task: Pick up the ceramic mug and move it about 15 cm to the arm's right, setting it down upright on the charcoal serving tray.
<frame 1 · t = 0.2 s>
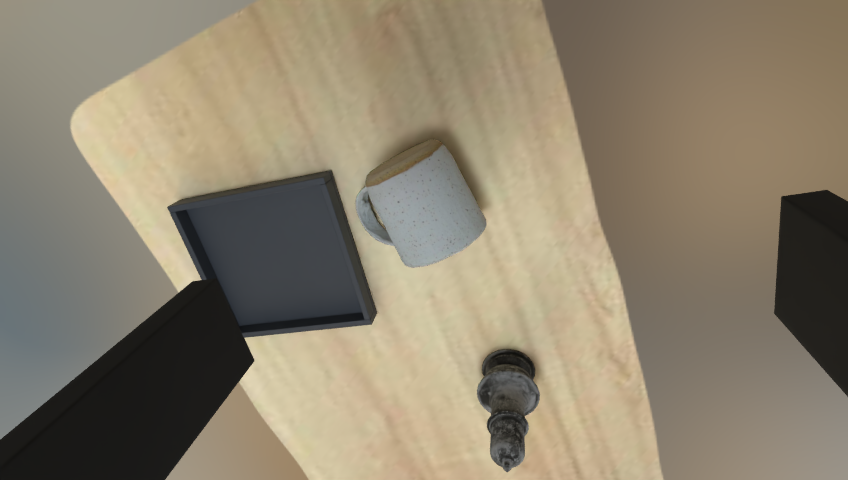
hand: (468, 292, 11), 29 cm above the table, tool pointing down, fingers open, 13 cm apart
dark chess piece: (508, 368, 48), on the table
ceramic mug: (419, 195, 42), on the table
tray: (280, 257, 47), on the table
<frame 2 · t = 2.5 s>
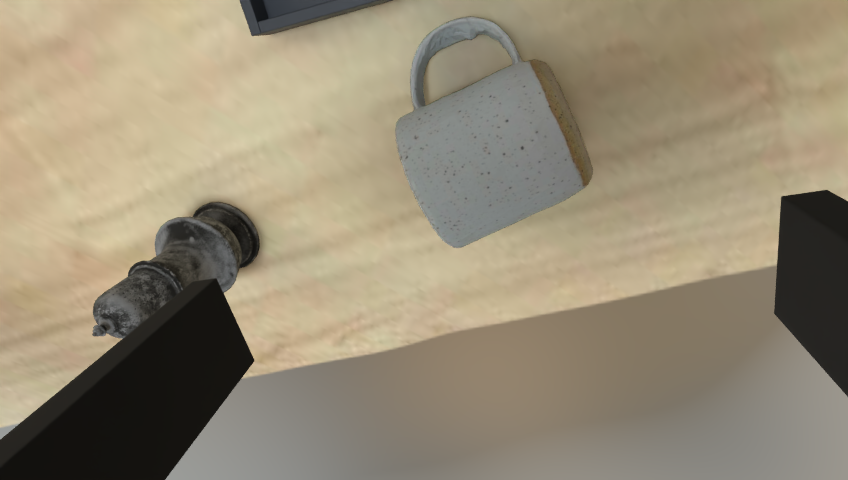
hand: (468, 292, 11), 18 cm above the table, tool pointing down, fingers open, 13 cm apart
dark chess piece: (226, 235, 34), on the table
ceramic mug: (483, 118, 28), on the table
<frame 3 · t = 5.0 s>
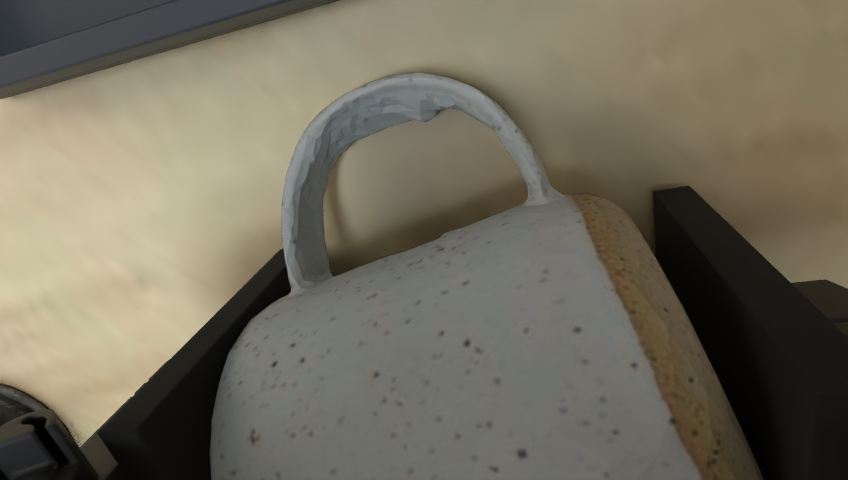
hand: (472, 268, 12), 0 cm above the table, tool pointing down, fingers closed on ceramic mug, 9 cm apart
dark chess piece: (21, 428, 20), on the table
ceramic mug: (461, 271, 13), on the table, touching gripper
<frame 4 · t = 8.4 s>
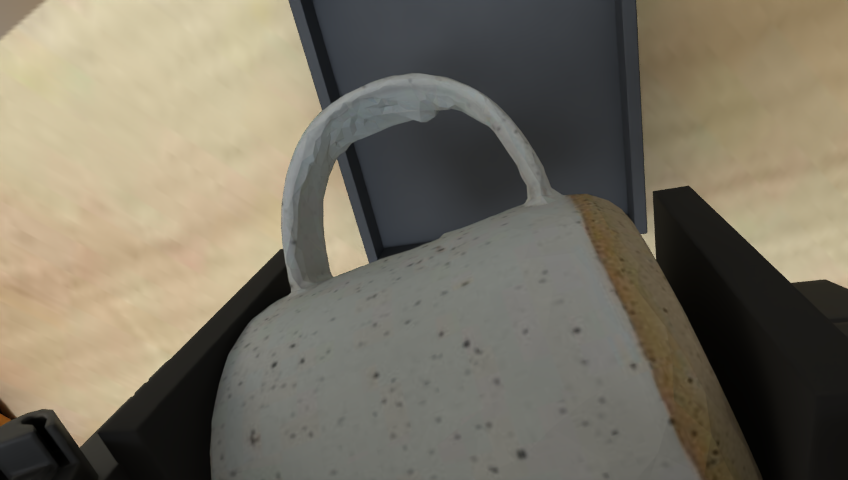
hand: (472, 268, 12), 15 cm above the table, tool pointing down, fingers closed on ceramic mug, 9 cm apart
ceramic mug: (461, 272, 13), point 14 cm above the table, touching gripper
tray: (474, 98, 25), on the table
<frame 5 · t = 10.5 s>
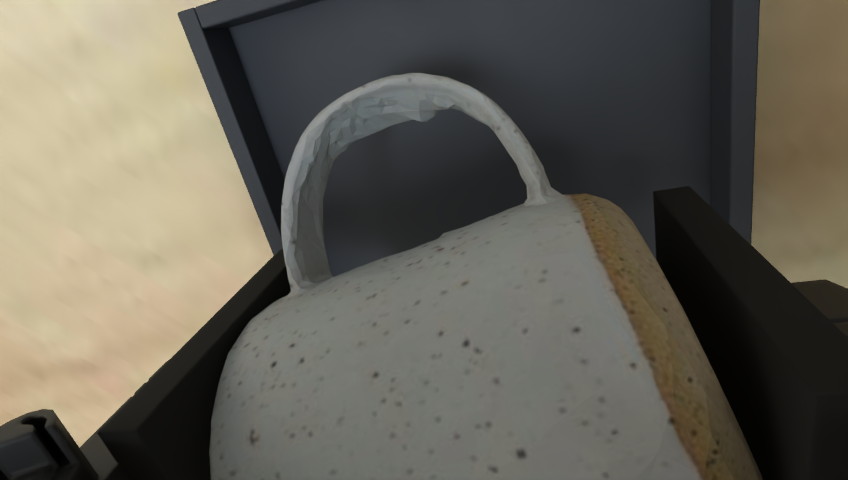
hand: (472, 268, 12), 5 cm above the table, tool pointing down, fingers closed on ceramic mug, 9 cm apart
ceramic mug: (460, 271, 13), point 4 cm above the table, touching gripper
tray: (486, 202, 17), on the table
when the fingers open (1 cm above the table, at t = 12.1 s): ceramic mug stays where it is, resting on tray.
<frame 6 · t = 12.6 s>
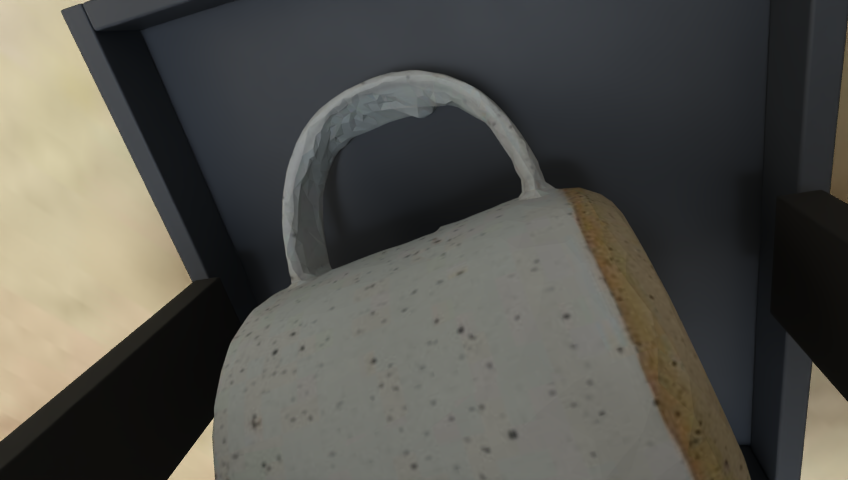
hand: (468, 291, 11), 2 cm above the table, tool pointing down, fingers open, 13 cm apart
ceramic mug: (458, 265, 13), resting on tray
tray: (473, 247, 13), on the table
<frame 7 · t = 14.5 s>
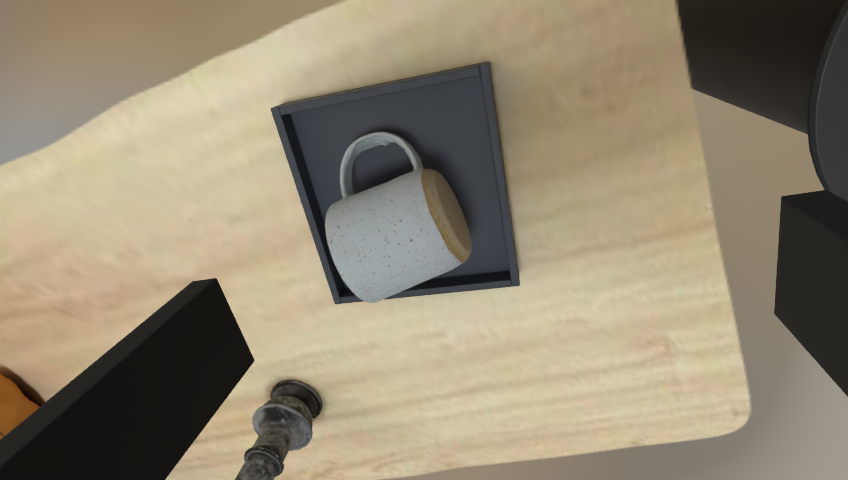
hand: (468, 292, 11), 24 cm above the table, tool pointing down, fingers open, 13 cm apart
coffee package: (3, 401, 55), on the table
dark chess piece: (297, 398, 48), on the table
ceramic mug: (399, 198, 36), resting on tray
tray: (405, 192, 36), on the table
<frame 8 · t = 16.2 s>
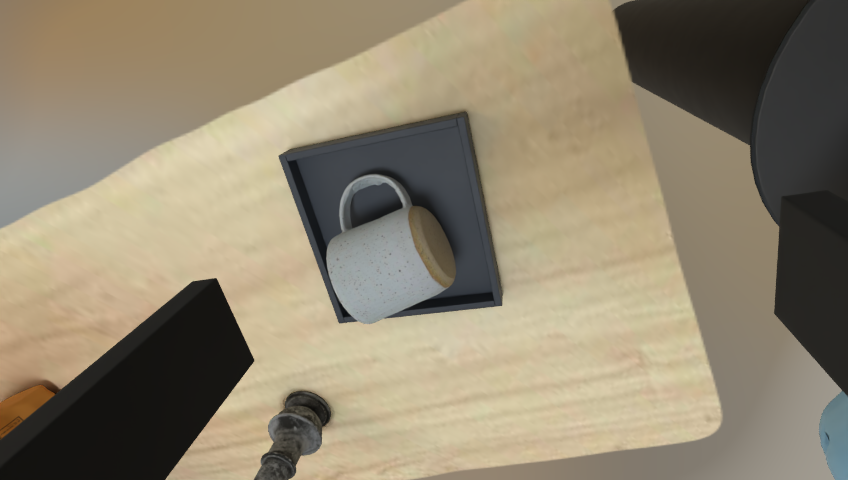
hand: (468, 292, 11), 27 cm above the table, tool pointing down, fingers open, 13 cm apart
coffee package: (46, 411, 61), on the table
dark chess piece: (308, 408, 52), on the table
ceramic mug: (393, 229, 41), resting on tray
tray: (398, 223, 41), on the table
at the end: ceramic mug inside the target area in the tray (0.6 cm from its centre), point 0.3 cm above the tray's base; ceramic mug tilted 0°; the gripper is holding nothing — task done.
